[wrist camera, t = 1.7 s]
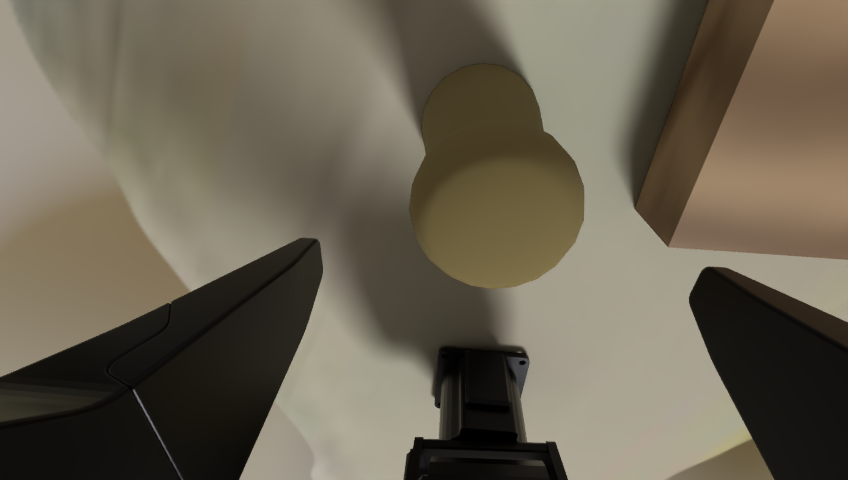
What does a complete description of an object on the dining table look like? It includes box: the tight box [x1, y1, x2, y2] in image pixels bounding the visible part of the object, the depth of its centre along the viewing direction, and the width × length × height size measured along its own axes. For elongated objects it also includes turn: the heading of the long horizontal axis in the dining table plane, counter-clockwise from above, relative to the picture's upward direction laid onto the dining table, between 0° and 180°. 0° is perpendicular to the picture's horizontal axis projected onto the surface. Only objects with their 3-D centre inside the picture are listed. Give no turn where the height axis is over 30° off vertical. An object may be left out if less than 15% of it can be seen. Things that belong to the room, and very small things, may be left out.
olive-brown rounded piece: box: [409, 63, 584, 289], centre depth 15 cm, size 6×6×11 cm
